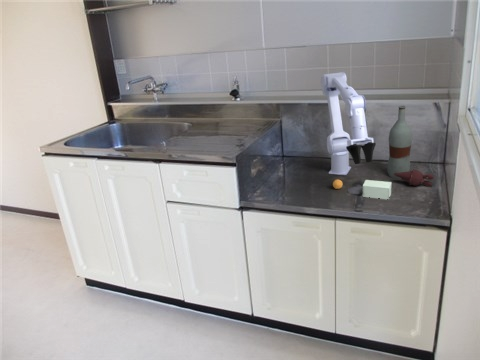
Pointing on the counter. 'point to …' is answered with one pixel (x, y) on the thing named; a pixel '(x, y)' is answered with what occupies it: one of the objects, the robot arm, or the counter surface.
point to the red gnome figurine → (415, 177)
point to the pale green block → (377, 189)
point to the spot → (355, 190)
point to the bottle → (399, 145)
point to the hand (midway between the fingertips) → (363, 163)
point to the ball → (337, 184)
